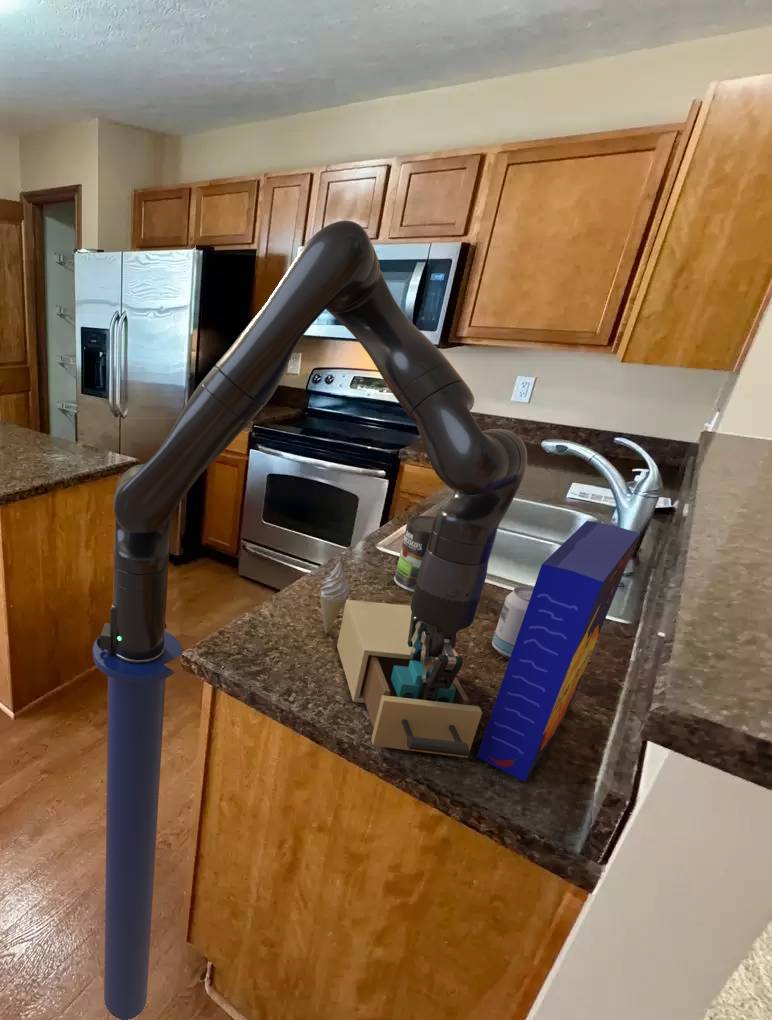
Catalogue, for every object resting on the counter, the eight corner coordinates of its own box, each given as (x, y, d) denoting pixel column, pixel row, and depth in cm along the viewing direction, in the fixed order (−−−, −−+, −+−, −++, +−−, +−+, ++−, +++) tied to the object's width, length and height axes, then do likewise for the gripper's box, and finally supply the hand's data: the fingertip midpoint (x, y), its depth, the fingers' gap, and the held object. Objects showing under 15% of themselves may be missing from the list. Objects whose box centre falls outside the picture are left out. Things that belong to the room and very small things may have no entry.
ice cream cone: (346, 635, 110) (361, 562, 104) (328, 643, 108) (342, 569, 102) (324, 622, 114) (337, 551, 108) (306, 630, 111) (319, 558, 105)
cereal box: (525, 782, 78) (603, 579, 66) (476, 757, 82) (542, 562, 70) (568, 709, 92) (640, 531, 80) (525, 691, 96) (587, 518, 84)
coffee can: (409, 596, 125) (424, 534, 119) (384, 574, 134) (397, 515, 128) (455, 594, 126) (472, 533, 120) (427, 572, 135) (442, 514, 129)
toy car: (451, 706, 81) (458, 681, 80) (397, 700, 82) (404, 675, 81) (441, 686, 85) (448, 662, 84) (389, 681, 86) (395, 656, 85)
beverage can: (530, 670, 102) (552, 608, 97) (485, 653, 106) (504, 594, 101) (538, 653, 106) (560, 594, 101) (495, 638, 110) (514, 580, 106)
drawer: (481, 786, 76) (498, 738, 73) (380, 772, 78) (392, 726, 75) (434, 691, 94) (446, 650, 91) (353, 682, 96) (362, 641, 93)
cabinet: (445, 712, 91) (461, 660, 87) (353, 701, 93) (364, 650, 89) (416, 654, 105) (429, 607, 101) (336, 646, 107) (346, 599, 103)
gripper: (502, 615, 70) (465, 730, 77) (460, 563, 83) (432, 665, 90) (435, 609, 71) (404, 722, 78) (403, 558, 84) (380, 659, 91)
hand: (419, 691), depth 84 cm, fingers closed on toy car, 4 cm apart
